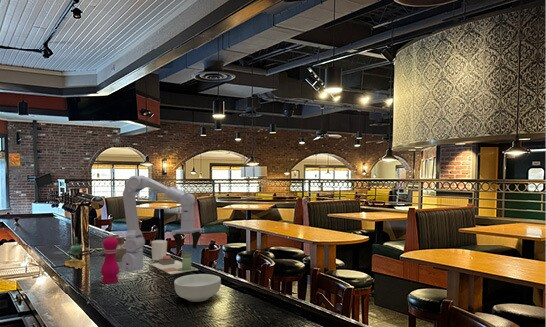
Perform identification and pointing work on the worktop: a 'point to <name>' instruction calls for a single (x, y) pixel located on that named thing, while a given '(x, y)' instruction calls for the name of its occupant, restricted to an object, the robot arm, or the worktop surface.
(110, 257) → the pepper mill
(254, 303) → the worktop surface
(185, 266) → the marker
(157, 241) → the white cup
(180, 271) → the picture board
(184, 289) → the cereal bowl
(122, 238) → the pottery
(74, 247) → the frog figurine
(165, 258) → the button
